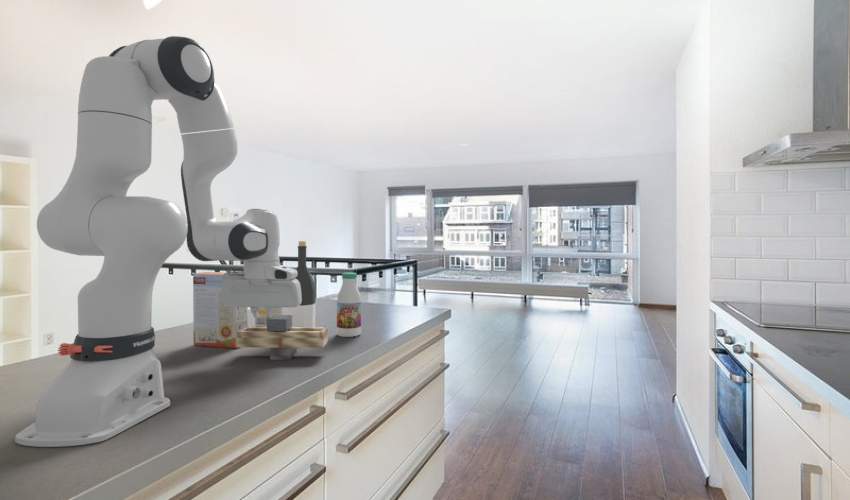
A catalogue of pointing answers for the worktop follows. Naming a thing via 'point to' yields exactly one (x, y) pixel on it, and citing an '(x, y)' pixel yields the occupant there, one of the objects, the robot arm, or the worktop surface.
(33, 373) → the worktop surface
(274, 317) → the block
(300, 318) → the wine bottle
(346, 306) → the milk bottle
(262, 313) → the supplement box
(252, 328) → the beam
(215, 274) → the cracker box
